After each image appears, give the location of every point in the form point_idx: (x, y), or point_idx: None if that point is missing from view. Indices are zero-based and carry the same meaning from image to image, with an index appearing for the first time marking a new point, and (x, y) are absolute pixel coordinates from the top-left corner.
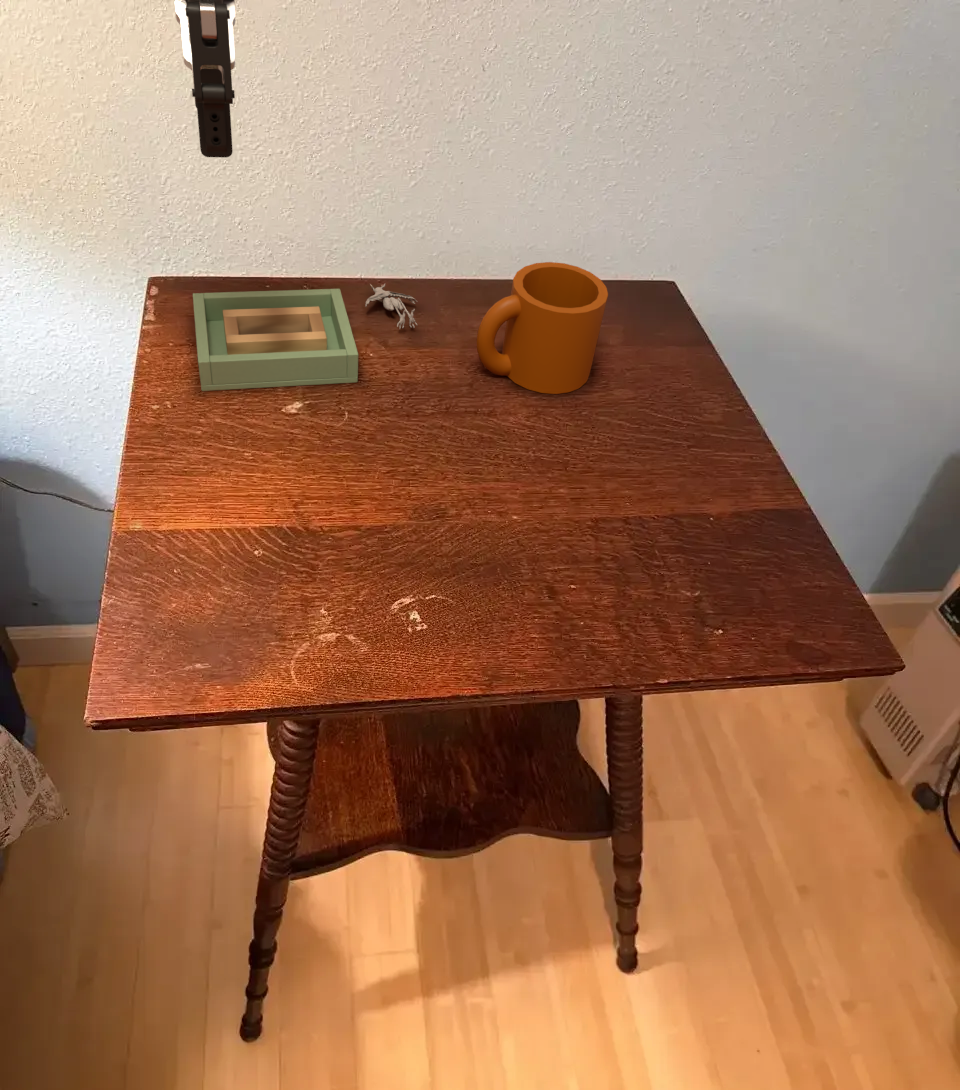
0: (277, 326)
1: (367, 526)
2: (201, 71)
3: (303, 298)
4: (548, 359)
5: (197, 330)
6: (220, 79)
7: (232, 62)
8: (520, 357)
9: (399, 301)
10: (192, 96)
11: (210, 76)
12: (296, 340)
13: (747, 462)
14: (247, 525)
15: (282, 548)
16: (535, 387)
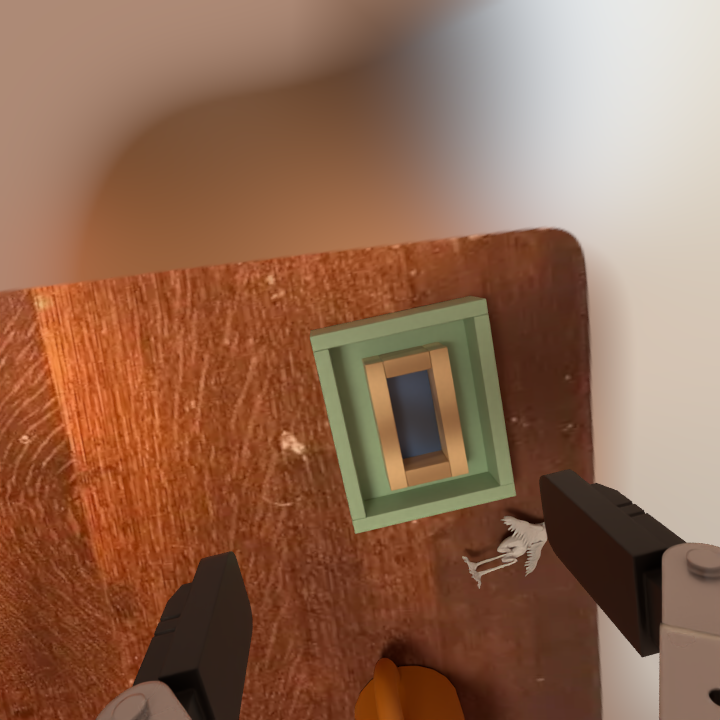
0: (437, 415)
1: (89, 543)
2: (608, 562)
3: (492, 448)
4: None
5: (387, 322)
6: (602, 600)
7: None
8: (373, 714)
9: (513, 560)
10: (121, 700)
11: (601, 579)
12: (383, 453)
13: None
14: (66, 422)
15: (36, 462)
16: (357, 704)
